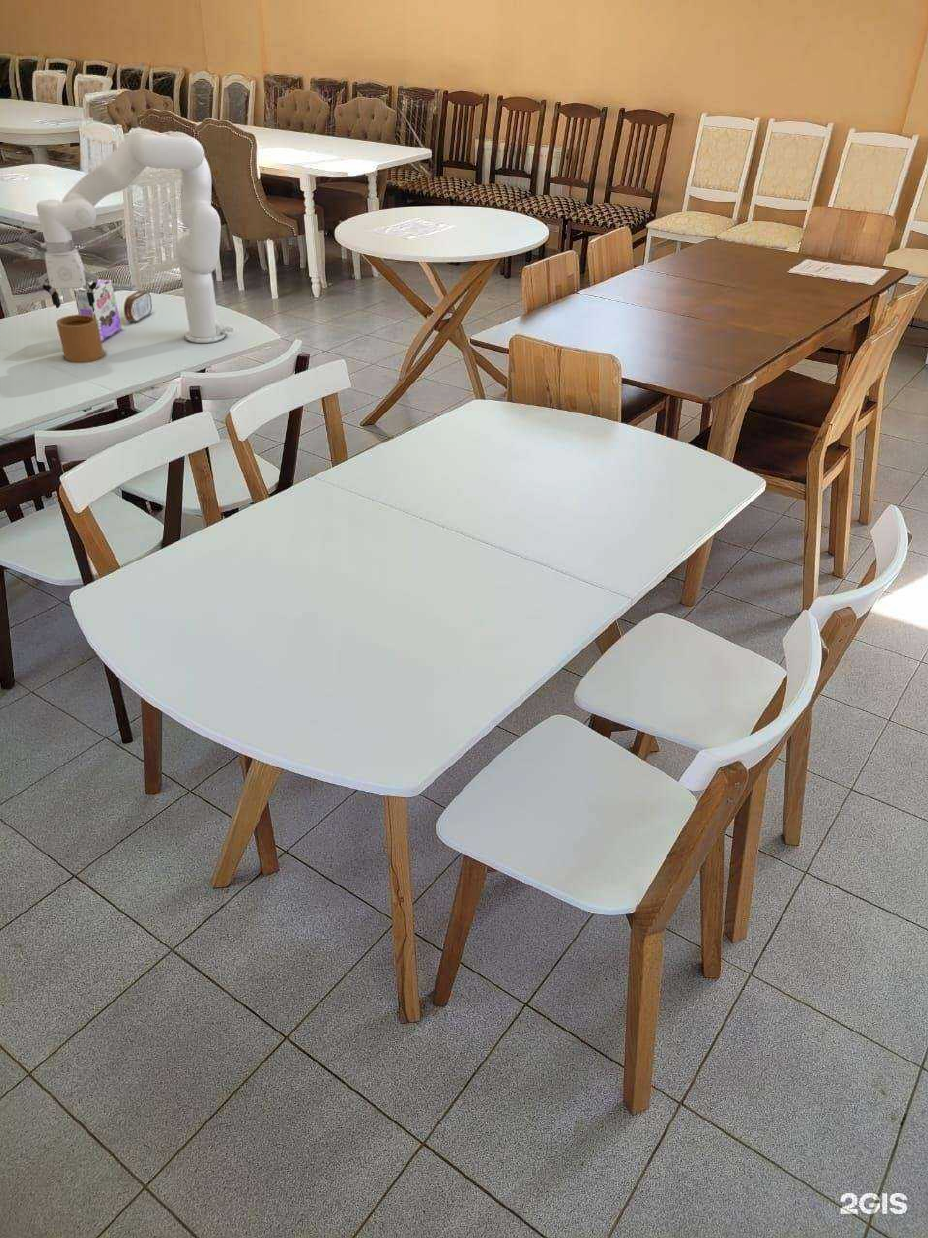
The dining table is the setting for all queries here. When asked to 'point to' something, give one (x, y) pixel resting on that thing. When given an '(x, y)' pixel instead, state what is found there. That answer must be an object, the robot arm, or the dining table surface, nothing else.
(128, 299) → the tin
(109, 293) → the candy box
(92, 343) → the jar
